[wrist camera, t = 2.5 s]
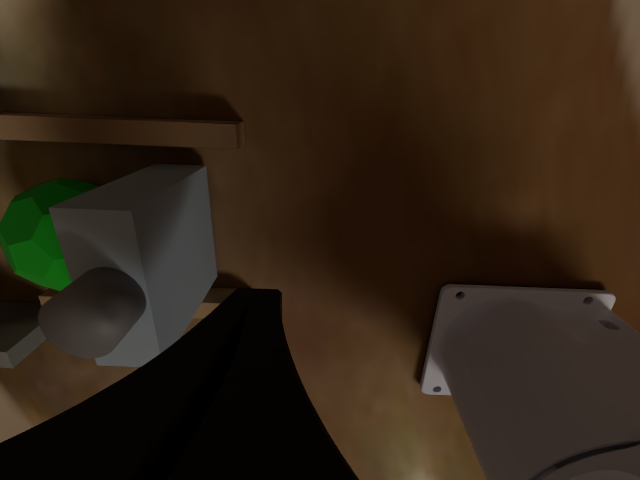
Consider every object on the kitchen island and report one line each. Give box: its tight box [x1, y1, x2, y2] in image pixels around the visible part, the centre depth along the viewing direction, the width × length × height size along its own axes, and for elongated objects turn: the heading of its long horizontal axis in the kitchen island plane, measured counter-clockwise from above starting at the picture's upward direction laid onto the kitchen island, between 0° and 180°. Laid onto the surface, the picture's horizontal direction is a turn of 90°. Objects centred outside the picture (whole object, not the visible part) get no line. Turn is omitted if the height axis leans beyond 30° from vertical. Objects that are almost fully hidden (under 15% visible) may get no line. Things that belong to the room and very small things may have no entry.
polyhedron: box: [0, 178, 100, 291], centre depth 15 cm, size 5×5×5 cm
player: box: [38, 164, 217, 367], centre depth 13 cm, size 2×6×8 cm, turn 178°
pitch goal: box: [0, 112, 245, 368], centre depth 15 cm, size 18×13×4 cm
